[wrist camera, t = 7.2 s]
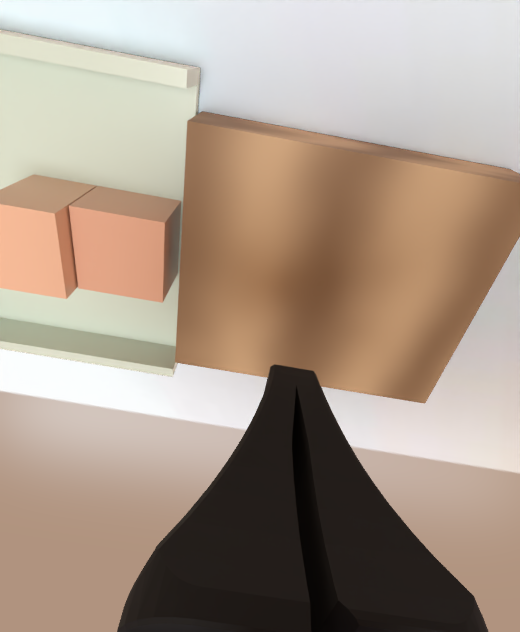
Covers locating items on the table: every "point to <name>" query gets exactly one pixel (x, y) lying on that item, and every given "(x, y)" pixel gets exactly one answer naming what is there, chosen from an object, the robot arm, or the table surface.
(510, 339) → the table surface
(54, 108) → the tray
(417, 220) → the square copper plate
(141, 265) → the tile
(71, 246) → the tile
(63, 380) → the table surface
